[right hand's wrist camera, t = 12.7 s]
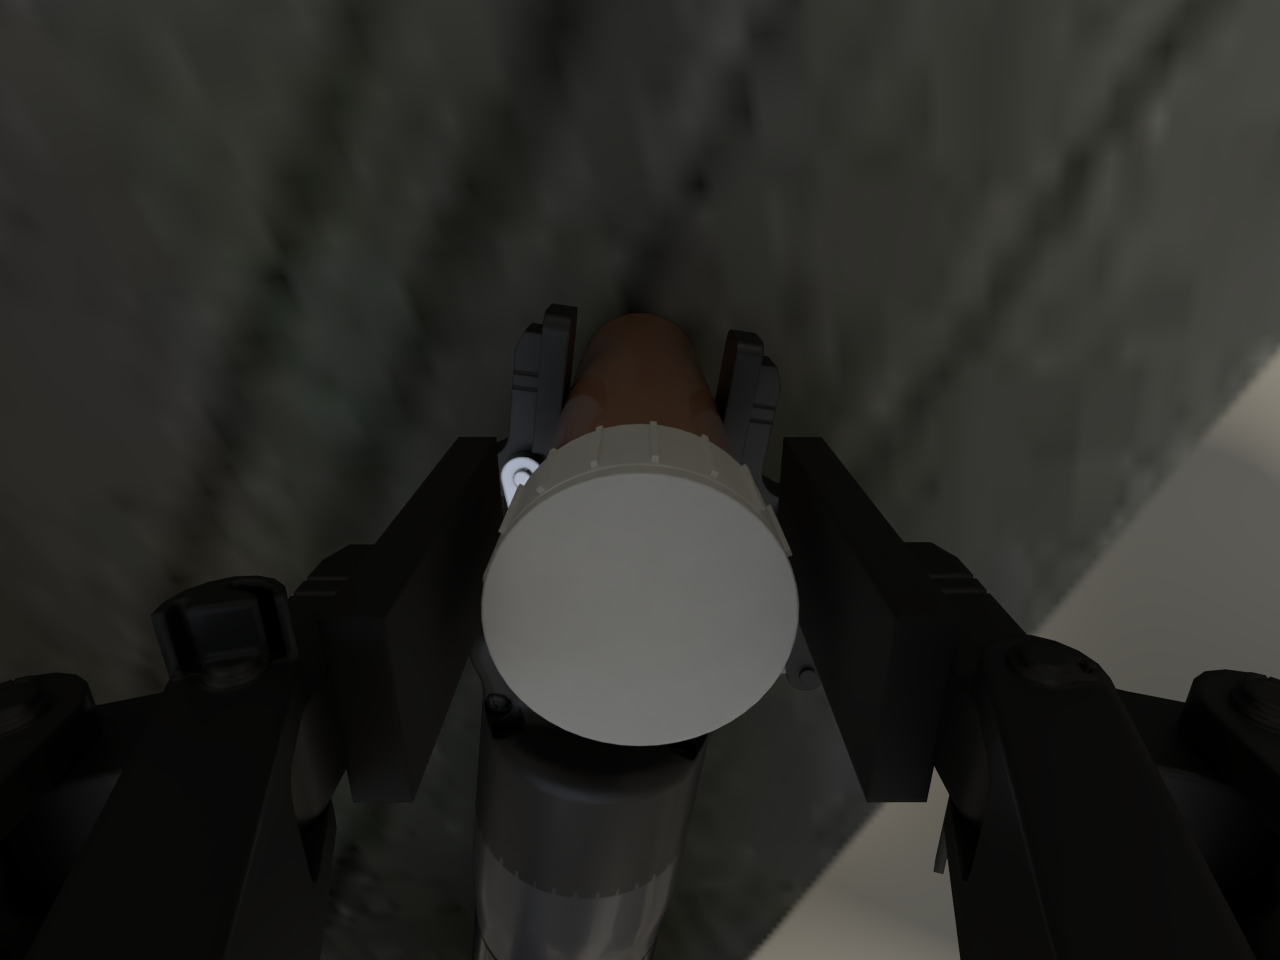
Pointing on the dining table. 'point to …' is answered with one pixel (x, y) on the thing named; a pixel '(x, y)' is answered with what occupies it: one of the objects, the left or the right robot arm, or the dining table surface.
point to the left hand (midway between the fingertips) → (653, 325)
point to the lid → (640, 588)
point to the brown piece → (640, 383)
